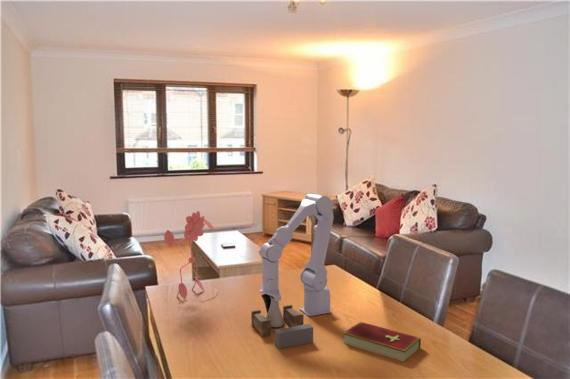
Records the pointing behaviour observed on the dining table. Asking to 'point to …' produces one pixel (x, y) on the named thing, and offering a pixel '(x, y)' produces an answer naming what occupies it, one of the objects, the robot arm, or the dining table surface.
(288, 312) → the housing
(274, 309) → the flask
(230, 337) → the dining table surface
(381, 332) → the hardcover book
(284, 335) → the stop
